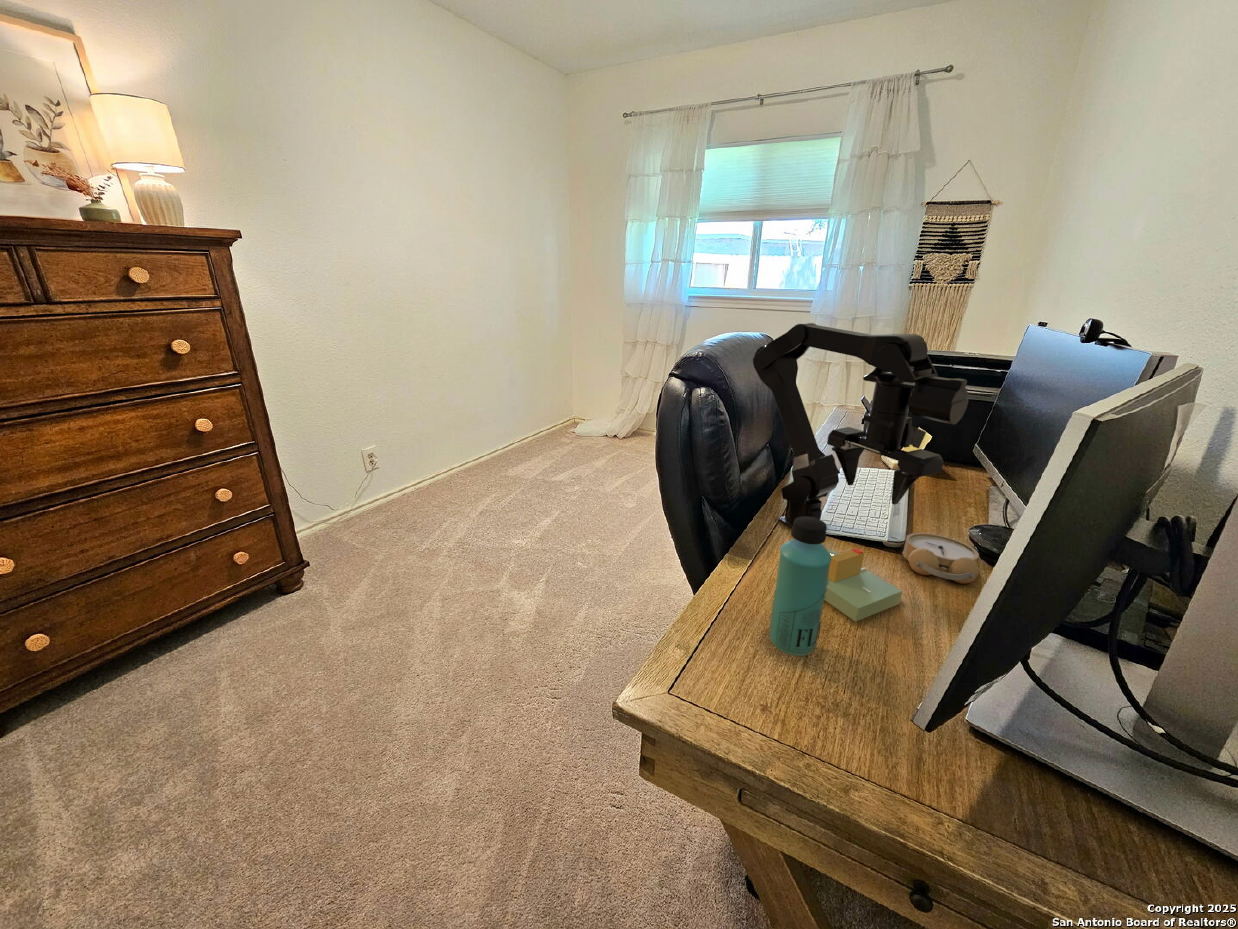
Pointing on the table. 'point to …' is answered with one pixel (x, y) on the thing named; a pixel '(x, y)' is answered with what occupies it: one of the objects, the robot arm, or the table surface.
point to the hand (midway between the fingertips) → (871, 494)
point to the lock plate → (861, 594)
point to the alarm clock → (941, 557)
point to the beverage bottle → (800, 588)
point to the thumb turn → (845, 565)
